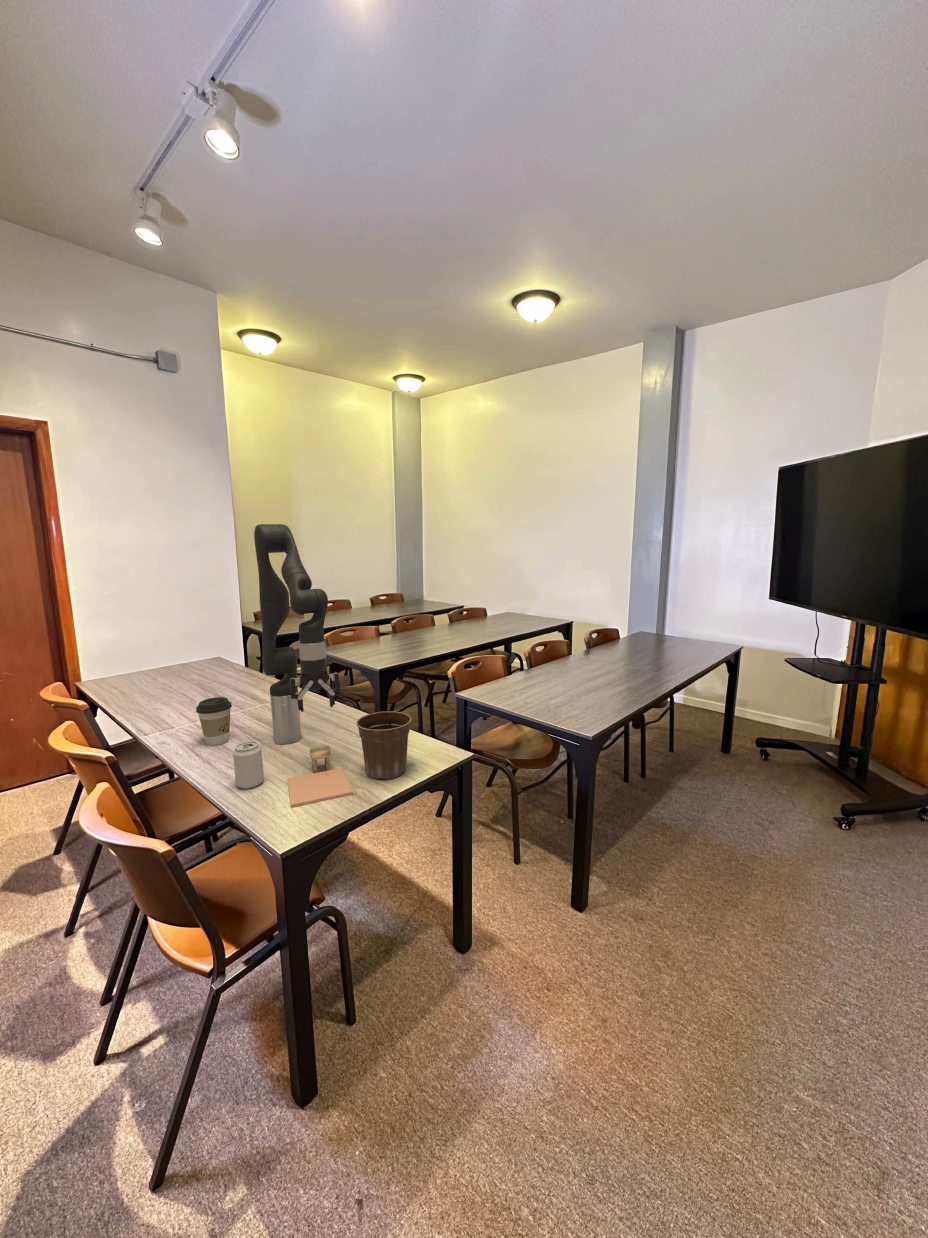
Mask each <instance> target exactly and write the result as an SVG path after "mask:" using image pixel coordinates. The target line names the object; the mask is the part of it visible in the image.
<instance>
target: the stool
mask: <svg viewBox="0 0 928 1238" xmlns="http://www.w3.org/2000/svg"><path fill="white" fill-rule="evenodd" d="M330 756H331V746H329V745H327V744H320V745H319V744H318V745H315V746H312V747H311V748H310V749H309V758H311V767H312V771H313V773H319V772H318V760H324V766H325V768H326V771H329V770H331V757H330ZM313 773H312V774H313Z"/></svg>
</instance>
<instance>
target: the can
mask: <svg viewBox="0 0 928 1238" xmlns="http://www.w3.org/2000/svg"><path fill="white" fill-rule="evenodd" d="M232 756H233V757H232V758H233V766H234V775H235V785H236V786H237V787H239V788H240V789H242V790H243V789H244V790H249V789H254V788H257V787H259V786H260V785H262V783H263V782H264V780H265V774H264V762H263V751H262V746H261V745H259V742H258V741H255V740H249V741H243V742H240V743H237V744H236V745H235V746H234V750H233V752H232Z"/></svg>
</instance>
